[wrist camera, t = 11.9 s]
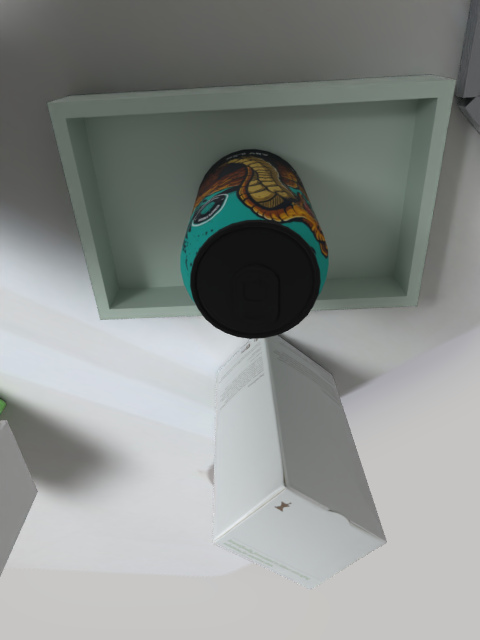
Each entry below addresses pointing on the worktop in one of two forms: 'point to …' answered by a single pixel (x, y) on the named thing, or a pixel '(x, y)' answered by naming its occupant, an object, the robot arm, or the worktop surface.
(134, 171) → the tray bin
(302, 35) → the worktop surface
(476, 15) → the socket collar
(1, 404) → the ink box
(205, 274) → the beverage can
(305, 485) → the skincare box
